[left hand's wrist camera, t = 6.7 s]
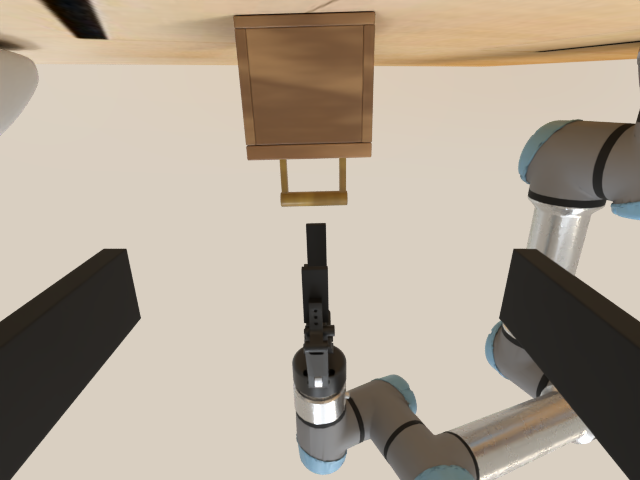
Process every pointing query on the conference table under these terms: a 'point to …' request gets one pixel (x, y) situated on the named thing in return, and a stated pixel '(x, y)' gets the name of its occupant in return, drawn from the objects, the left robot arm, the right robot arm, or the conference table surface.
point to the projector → (15, 86)
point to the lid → (311, 152)
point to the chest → (306, 77)
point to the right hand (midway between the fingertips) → (315, 242)
